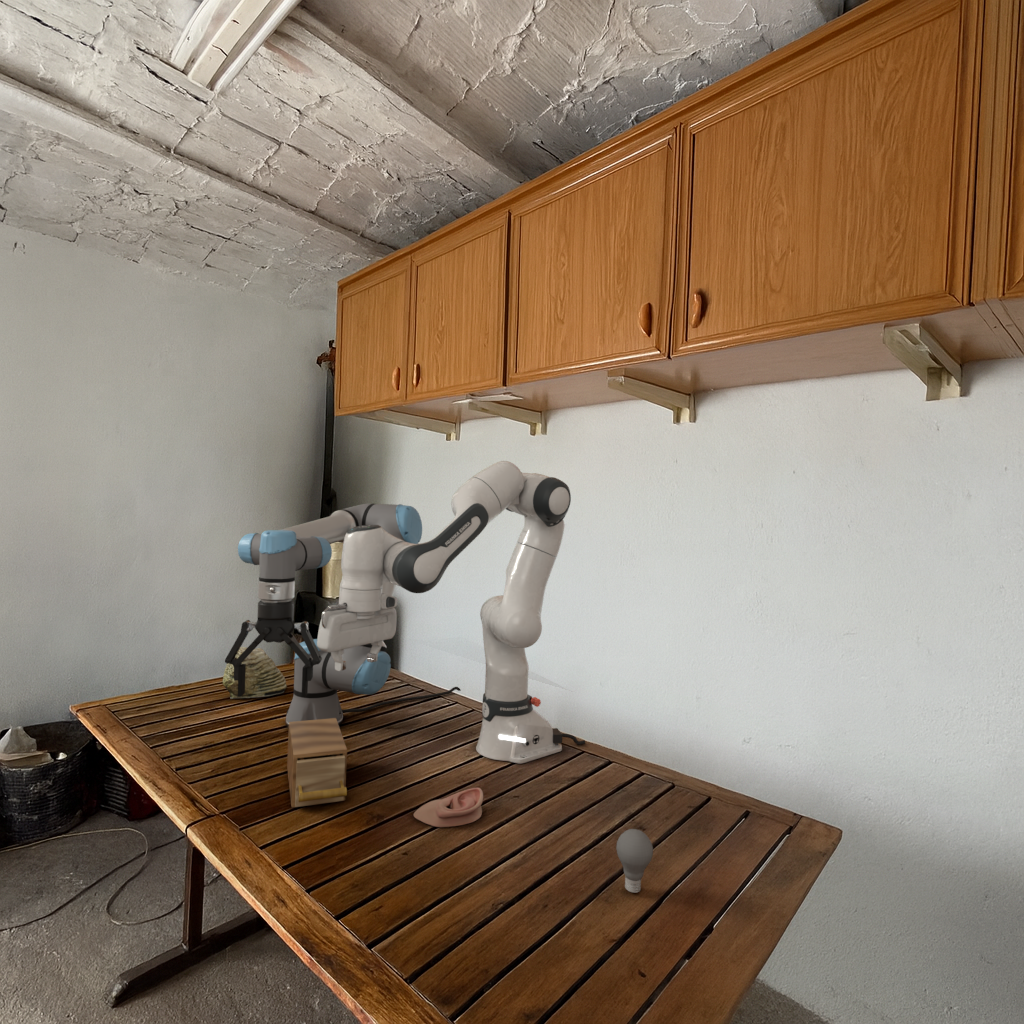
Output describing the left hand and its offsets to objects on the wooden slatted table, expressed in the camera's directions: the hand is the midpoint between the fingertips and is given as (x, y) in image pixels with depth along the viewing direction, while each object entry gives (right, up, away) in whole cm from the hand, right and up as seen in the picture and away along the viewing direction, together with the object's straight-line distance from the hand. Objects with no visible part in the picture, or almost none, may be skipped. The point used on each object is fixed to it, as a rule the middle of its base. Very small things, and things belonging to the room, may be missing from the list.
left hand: (273, 695), depth 141 cm
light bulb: (+73, -23, -35) cm, 84 cm away
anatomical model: (+40, -21, -12) cm, 47 cm away
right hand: (+20, +8, -6) cm, 23 cm away
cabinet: (+10, -19, -1) cm, 21 cm away
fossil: (-27, -17, +57) cm, 65 cm away
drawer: (+12, -18, -6) cm, 23 cm away
